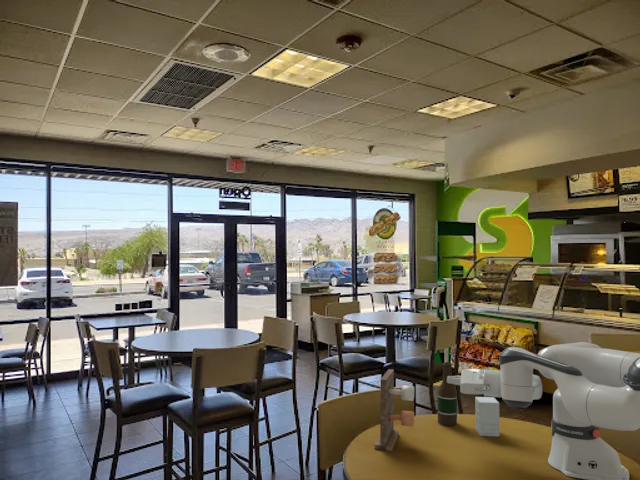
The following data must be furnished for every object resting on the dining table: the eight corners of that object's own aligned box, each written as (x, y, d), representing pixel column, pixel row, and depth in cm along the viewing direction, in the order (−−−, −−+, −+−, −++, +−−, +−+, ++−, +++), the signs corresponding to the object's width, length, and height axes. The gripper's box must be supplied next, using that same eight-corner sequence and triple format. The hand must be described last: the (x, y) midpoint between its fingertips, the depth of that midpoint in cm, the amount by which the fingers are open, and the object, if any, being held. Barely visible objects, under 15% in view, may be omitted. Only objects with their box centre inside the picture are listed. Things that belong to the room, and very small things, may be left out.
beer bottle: (433, 423, 192) (433, 362, 193) (443, 418, 198) (443, 359, 198) (451, 428, 187) (451, 366, 187) (460, 423, 192) (460, 362, 193)
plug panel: (398, 434, 179) (399, 369, 180) (391, 451, 164) (392, 380, 165) (382, 432, 181) (383, 368, 182) (374, 448, 166) (374, 378, 167)
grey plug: (414, 398, 173) (414, 384, 173) (412, 402, 168) (412, 388, 168) (386, 395, 176) (386, 382, 176) (384, 399, 171) (384, 385, 171)
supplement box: (494, 430, 185) (494, 397, 185) (499, 437, 178) (499, 402, 178) (474, 429, 186) (474, 396, 186) (479, 436, 178) (479, 402, 179)
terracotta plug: (414, 423, 172) (414, 409, 172) (412, 428, 168) (412, 414, 168) (386, 420, 175) (386, 406, 176) (384, 425, 171) (384, 411, 171)
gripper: (490, 401, 153) (445, 396, 157) (488, 384, 172) (448, 381, 176) (490, 381, 153) (445, 377, 157) (488, 367, 172) (448, 364, 177)
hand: (447, 379), depth 167 cm, fingers closed
